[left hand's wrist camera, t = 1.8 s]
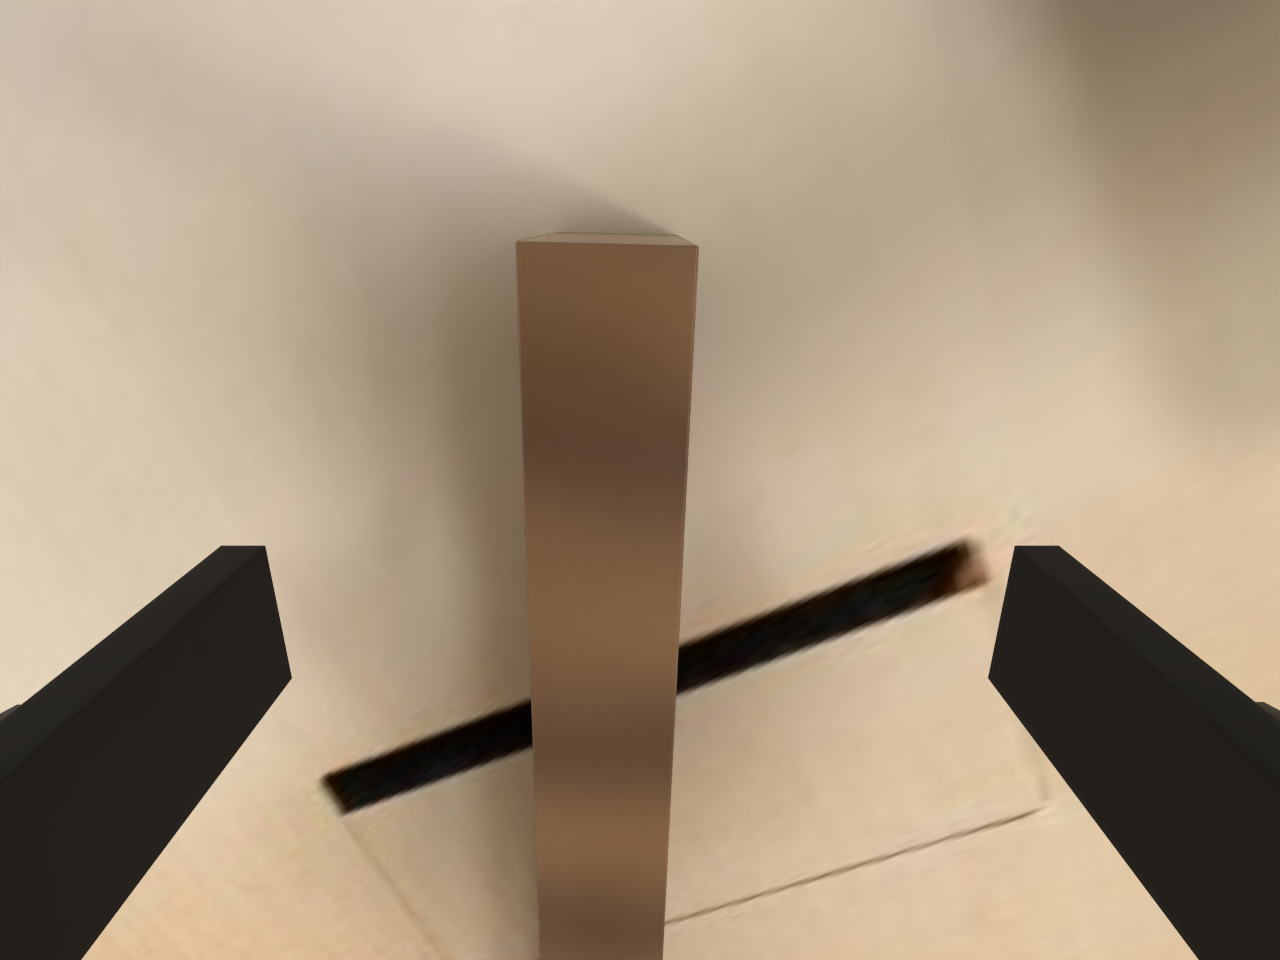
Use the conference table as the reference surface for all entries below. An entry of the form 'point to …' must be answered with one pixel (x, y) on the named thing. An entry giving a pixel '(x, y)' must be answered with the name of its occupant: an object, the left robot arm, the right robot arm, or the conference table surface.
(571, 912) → the beam
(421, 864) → the conference table surface
